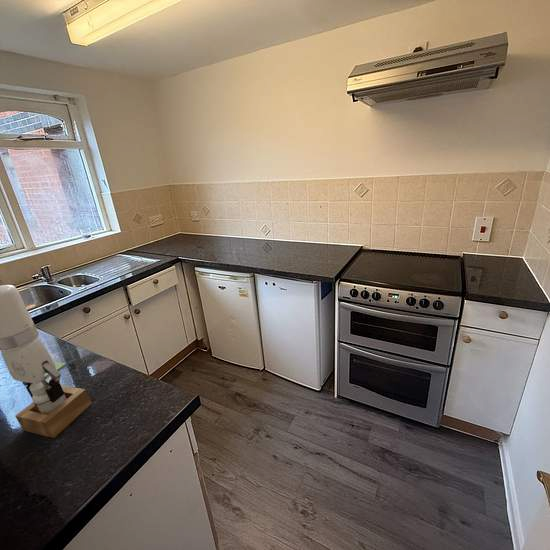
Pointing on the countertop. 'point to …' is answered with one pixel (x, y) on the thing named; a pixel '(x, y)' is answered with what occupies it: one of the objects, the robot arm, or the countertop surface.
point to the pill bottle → (44, 398)
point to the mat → (57, 366)
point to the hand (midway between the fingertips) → (48, 395)
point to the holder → (55, 414)
